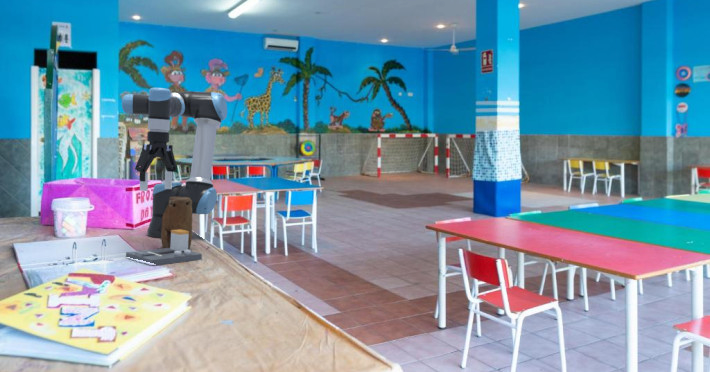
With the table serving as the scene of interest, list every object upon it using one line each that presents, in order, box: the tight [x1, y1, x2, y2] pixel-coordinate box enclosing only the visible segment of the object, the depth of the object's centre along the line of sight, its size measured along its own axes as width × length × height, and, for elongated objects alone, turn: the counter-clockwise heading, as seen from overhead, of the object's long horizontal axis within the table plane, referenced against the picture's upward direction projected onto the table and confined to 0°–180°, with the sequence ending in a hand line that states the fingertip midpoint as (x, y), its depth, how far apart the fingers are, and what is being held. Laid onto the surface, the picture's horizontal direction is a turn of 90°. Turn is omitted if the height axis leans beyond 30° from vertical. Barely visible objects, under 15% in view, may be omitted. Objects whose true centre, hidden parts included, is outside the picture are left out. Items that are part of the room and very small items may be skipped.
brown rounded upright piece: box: [160, 196, 193, 249], centre depth 228 cm, size 11×8×20 cm
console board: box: [125, 247, 203, 266], centre depth 208 cm, size 20×16×4 cm
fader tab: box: [170, 229, 189, 251], centre depth 212 cm, size 4×5×7 cm
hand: (156, 189), depth 214 cm, fingers open, 13 cm apart
